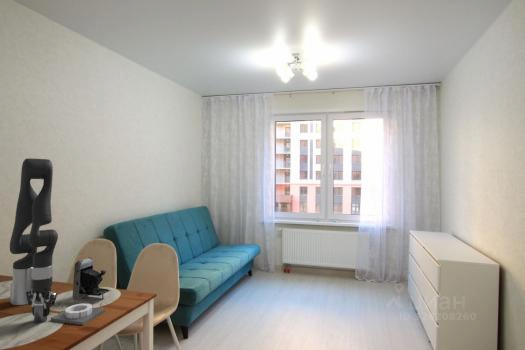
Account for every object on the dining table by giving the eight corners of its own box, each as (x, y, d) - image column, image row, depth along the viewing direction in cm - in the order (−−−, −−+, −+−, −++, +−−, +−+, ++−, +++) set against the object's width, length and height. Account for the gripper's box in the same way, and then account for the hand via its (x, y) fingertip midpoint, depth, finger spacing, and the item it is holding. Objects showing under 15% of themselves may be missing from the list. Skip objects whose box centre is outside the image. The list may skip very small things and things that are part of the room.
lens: (30, 322, 138) (31, 301, 138) (40, 317, 143) (41, 297, 143) (40, 324, 137) (41, 302, 137) (50, 318, 142) (51, 298, 142)
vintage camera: (98, 304, 161) (101, 264, 161) (71, 299, 164) (74, 260, 164) (110, 297, 170) (113, 259, 170) (85, 293, 173) (88, 256, 173)
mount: (50, 320, 140) (50, 312, 140) (74, 308, 154) (75, 300, 154) (82, 325, 137) (83, 316, 137) (104, 311, 151) (105, 304, 151)
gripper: (20, 277, 138) (18, 317, 138) (49, 280, 135) (47, 321, 135) (35, 272, 145) (34, 310, 145) (63, 275, 143) (62, 313, 142)
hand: (40, 315), depth 140 cm, fingers closed on lens, 4 cm apart
